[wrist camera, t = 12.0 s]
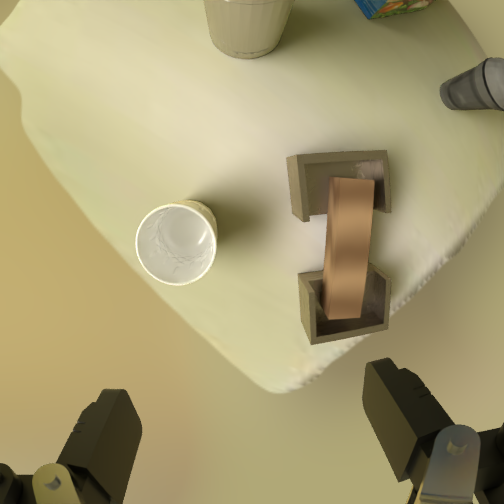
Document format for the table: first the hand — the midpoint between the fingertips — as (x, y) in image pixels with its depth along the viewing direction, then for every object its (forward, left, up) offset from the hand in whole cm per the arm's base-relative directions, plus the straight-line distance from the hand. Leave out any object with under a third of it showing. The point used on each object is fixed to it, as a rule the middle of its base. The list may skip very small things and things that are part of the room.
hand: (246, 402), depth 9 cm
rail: (+3, +12, -27) cm, 30 cm away
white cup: (-1, -6, -30) cm, 31 cm away
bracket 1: (-4, +12, -30) cm, 33 cm away
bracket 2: (+10, +12, -30) cm, 34 cm away
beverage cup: (-17, +34, -30) cm, 49 cm away
